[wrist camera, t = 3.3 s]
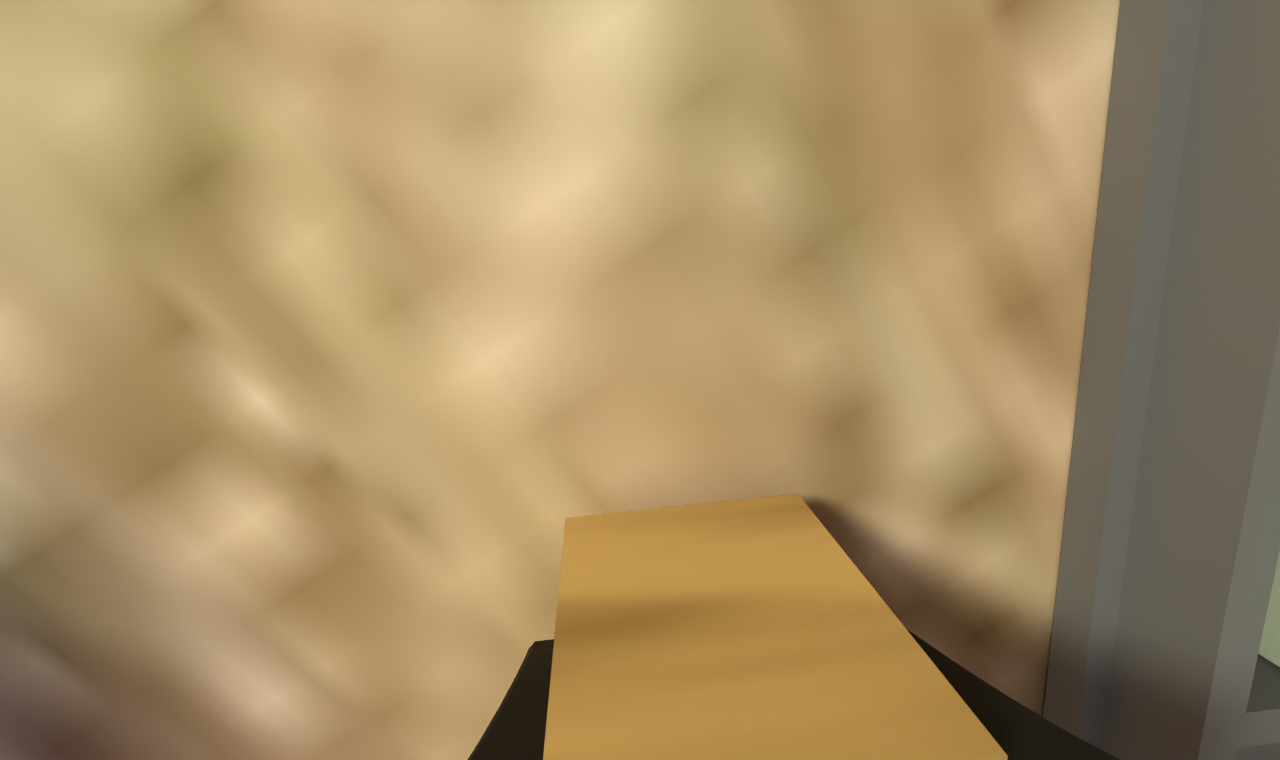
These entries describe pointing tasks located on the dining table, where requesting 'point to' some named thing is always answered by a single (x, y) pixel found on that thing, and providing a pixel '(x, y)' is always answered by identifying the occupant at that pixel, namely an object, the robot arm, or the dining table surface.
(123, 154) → the dining table surface
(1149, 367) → the five-cell board
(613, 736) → the ochre block
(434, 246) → the dining table surface
